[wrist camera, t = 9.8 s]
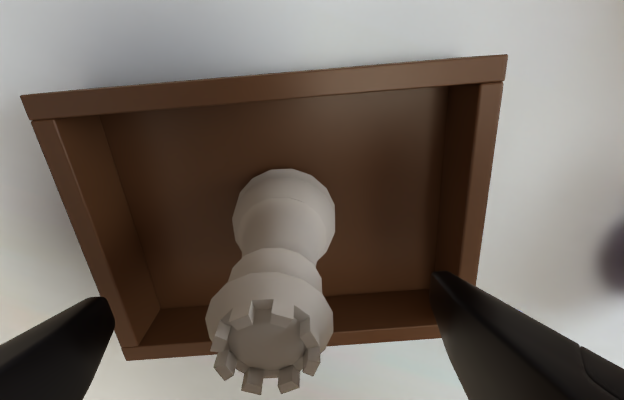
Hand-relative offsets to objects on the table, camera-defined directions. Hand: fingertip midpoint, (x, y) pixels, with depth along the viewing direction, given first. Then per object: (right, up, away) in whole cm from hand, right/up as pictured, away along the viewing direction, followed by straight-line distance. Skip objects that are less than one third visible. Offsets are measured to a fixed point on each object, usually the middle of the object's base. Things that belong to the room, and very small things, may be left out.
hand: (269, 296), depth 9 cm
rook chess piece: (0, +2, +6) cm, 6 cm away
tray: (0, +2, +6) cm, 7 cm away
